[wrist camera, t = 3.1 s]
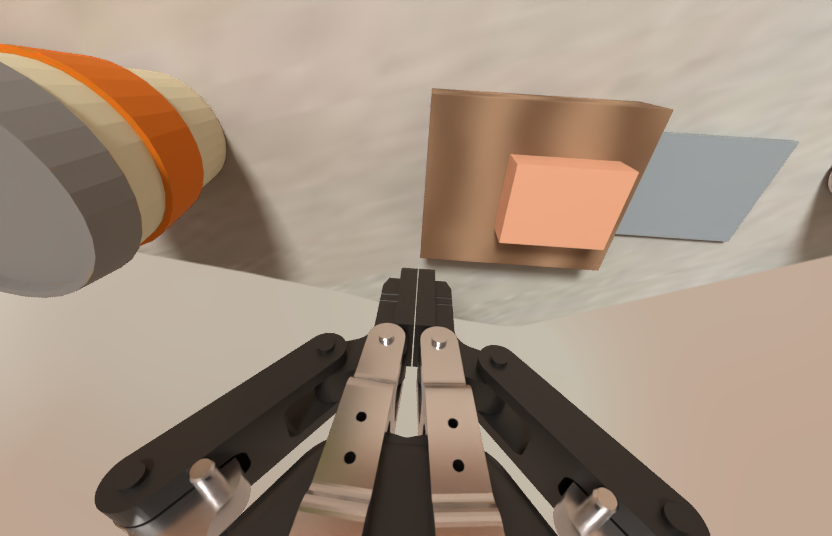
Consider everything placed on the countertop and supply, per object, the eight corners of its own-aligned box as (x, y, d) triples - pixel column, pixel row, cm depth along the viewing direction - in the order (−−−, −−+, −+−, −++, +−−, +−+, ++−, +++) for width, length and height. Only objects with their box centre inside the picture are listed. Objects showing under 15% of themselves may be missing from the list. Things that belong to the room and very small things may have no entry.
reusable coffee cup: (144, 203, 31) (-48, 302, 19) (54, 48, 24) (-352, 43, 12) (267, 198, 30) (149, 300, 18) (210, 35, 23) (-50, 16, 11)
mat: (793, 140, 25) (799, 141, 24) (724, 239, 30) (728, 241, 30) (629, 129, 25) (632, 131, 25) (588, 229, 30) (590, 232, 30)
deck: (640, 101, 24) (673, 109, 21) (580, 247, 31) (598, 270, 28) (432, 88, 24) (431, 94, 21) (421, 236, 32) (420, 257, 28)
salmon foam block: (620, 161, 23) (639, 172, 21) (590, 234, 26) (603, 250, 24) (510, 154, 23) (517, 164, 21) (494, 227, 26) (499, 242, 24)
